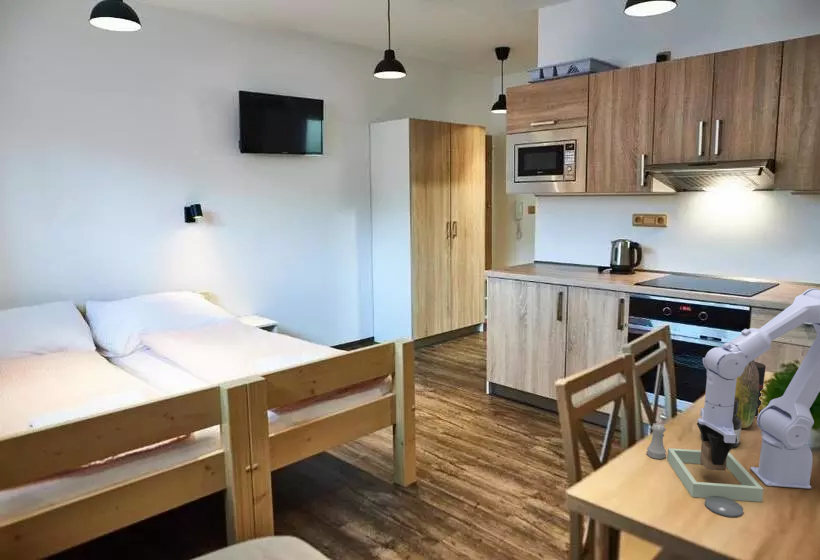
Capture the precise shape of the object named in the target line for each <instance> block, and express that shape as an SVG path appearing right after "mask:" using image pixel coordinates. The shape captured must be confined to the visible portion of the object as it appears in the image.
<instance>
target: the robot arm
mask: <svg viewBox="0 0 820 560" xmlns="http://www.w3.org/2000/svg"><path fill="white" fill-rule="evenodd" d="M803 324H811V325H812V326H813V328H814V330H815V332H816V337H815V339H814V341H813V343H812V344H811V346H810V347H809V349H808V351H807V352H806V355H805V356H804V358H803V360H802V361H801V363H800V364H799V367H798V369H797V370H796V372H795V373H794V375H793V377H792V378H791V381H790V382H789V384H788V386H787V388H786V389H785V390H784V393H783V395H781V396H780V397H776V398H773V399H771V400H770V401H769V403H768V405H767V406H765V407H764V408H763V409H761V410H760V413H759V414H758V416H757V417H756V424H757V427H758V428H759V429H760V431H761V432H760V435H761V446H760V453H759V463H758V464H759V465H758V466H751V467H750V470H751V471H752V472H753V473H754V474H755V475H756V476H757V477H758V479H760V481H761V482H762V483H763V484H764V485H765V486H769V487H770V486H771V487H783V488H795V489H796V488H797V489H808V490H809V489H812V486H811V485H810V483H811V475H812V469H813V460H814V459H813V458H814V457H813V452H812V450H811V448H810V446H809V445H808V444H807V443H808V442H809V440H810V438H811V430H812V427H813V426H814V424H815V420H814V418H813V415H812V413H811V410H810V408H811V407H812V405H813V404H814V402H815V401H816V399H817V397H818V396H819V393H820V288H816V287H813V288H809V289H806V290H805V291H803V292H802V293H801V294H799V295H797V296H795V297H794V300H793V301H792V304H790V305H788V307H786V308H785V309H784V310H782V311H781V312H780V313H778V314H777V315H776V316H774V317H773V318H771V320H769V321H768V322H766V323H765V324H764V325H763V326H760V328H755V327H751V328H748V329H747V328H744V329H743V330H741V333H740V334H738V335H737V336H736V337H735V338H733V339H731V340H729V341H728V342H725V343H723V345H722V346H718V347H713V348H711V349H709V350H708V351H707V353H706V354H705V357H702V364H703V366H704V367H705V369H706V385H705V396H704V405H703V406H704V407H703V408H702V407H701V408H700V414H699V416H700V417H699V418H697V423H696V425H697V428H698V429H699V432H700V437H701V436H702V438H701V442H702V441H710V445H711V458H712V463H713V464H714V465H723V464H724V462H725V460H726V457H727V455H728V453H729V452H730V451H731V450H732V448H734V447H733V446H734V444H736V443H737V438H736V434H735V433H734V428H733V422H732V419H733V410H734V399H735V390H736V380H737V377H739V376H741V375H742V373H743V371H744V369H745V367H746V366H747V365H748V363H749V362H751V361H752V360H754V361H755V360H756V359H757V358H758V357H760V356H762V355H763V354H764V353H766V352H768V351H769V350H770V349H771V344H772V341H774V340H776V339H778V338H780V337H782V336H784V335H785V334H787V333H788V332H790V331H793V330H794V329H795V328H798V327H799V326H801V325H803Z"/></svg>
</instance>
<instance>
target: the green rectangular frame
mask: <svg viewBox="0 0 820 560" xmlns="http://www.w3.org/2000/svg"><path fill="white" fill-rule="evenodd" d="M700 456H701V449H685V448H684V449H683V448H669V447H668V448H667V455H666V457H667V458H666V460H667V461H668V463H669V465H670V467H672V469H673V471H674V472H675V474H676V476H677V477H678V479H680V481H681V482H682V484H683V486H684V487H685V488H686V490H687V492H688V493H689V495H690V497H692V498H701V499H706V498H707V497H710V496H720V497H725V498H728V499H731V500H733V501H744V502H756V503H762V502H763V496H764V495H763V494H764V488H763V487H762V485H760V483H759V482H757V481H758V480H756V479H755V478H754V477H753V476H752V475H751V474H750V473H749V472H748V471H747V469H746V468H745V467H744V466H743V465H742V464H741V463H740V462H739V461H738V459H736V458H735V456H733V454H732V453H731V452H730V451H729V453H728V455H727V462H726V469H727V470H729V472H730V473H731V474H732V475H733V476H734V477H735V478H736V480H737V481H738V482H739V483H740V484H733V483H732V484H730V483H720V482H719V483H717V482H715V483H714V482H703V481H697V480H696V478H695V477H694V476H693V475H692V474H691V472H690V471H689V469H688V468H687V466H686V465H685V464H696V465H703V464H702V463H701V462H700Z"/></svg>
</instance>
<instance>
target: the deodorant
mask: <svg viewBox="0 0 820 560" xmlns="http://www.w3.org/2000/svg"><path fill="white" fill-rule="evenodd" d="M754 362H755V365H756V367H757V369H758V372H759V395H758V401H757V407H756V413H755V416H758V408H759V406H760V405H761V406H762V402H761V401H760V400H759V397H760V396H761V393H760V391H761V390H762V389H763V390H764V383H765V374H766V367H767V366H766V364H764V363H761V362H757V361H754Z"/></svg>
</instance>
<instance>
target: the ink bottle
mask: <svg viewBox="0 0 820 560" xmlns="http://www.w3.org/2000/svg"><path fill="white" fill-rule="evenodd" d="M738 406H739V399H738V398H737V397H735V399H734V410H733V419H732V422H733V428H734V433H735V434H736V438H737V443H736V444H734V446H733V447H732V448H736V447H738V446H739V444H740V439H741V431H742V428H741V420H740V418H739V417H738V416H737V415H736V414H737V413H738ZM700 437H701V439H702V436H701V435H700Z"/></svg>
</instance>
